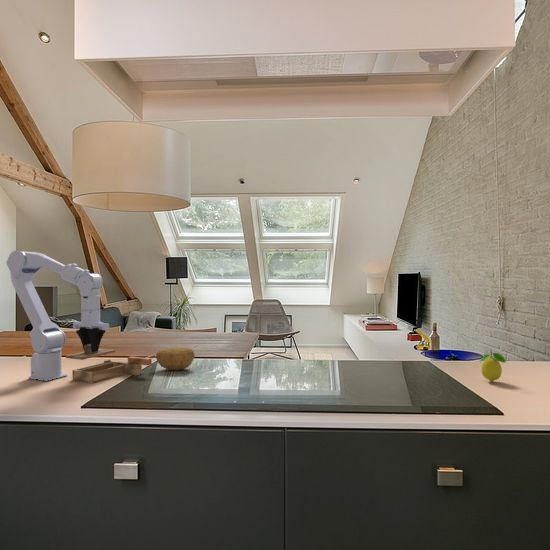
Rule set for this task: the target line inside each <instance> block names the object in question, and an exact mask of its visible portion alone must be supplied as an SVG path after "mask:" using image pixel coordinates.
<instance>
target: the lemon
mask: <svg viewBox="0 0 550 550" xmlns="http://www.w3.org/2000/svg"><path fill="white" fill-rule="evenodd" d="M492 351H493V350H490V354H484V355H483V356H482V357H481V359H480V360H479V363H482V364H481V370H480V371H481V375H482V376H483V377H484V378H485V379H486V380H488V381H489V382H491V383H493V382H494V381H496V380H499V379H500V378H501V376H502V372H503V371H502V370H503V369H502V365H501V363H507V361H506V359H505V358H504V355H502V354H500V353H498V352H492Z"/></svg>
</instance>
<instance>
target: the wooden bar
mask: <svg viewBox="0 0 550 550" xmlns="http://www.w3.org/2000/svg"><path fill="white" fill-rule="evenodd" d="M127 362H128V363H131V364H140V365H142V366H151V365H152V358H150V357H142V356H141V357H140V356H128V357H127Z"/></svg>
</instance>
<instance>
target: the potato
mask: <svg viewBox="0 0 550 550" xmlns="http://www.w3.org/2000/svg"><path fill="white" fill-rule="evenodd" d="M155 355H156V356H155V358H156V362H157V363H158V364H159V365H160V367H161V368H164V369H166V370H170V371H180V370H185V369H187V368H189V366H191V365H192V363H193V361H194V359H195V355H196V353H195V351H194V350H193V349H192V348H189V347H180V346H179V347H172V348H171V347H170V348H163V349H161V350H158V351H157V353H156V354H155Z"/></svg>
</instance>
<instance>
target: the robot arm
mask: <svg viewBox="0 0 550 550" xmlns="http://www.w3.org/2000/svg"><path fill="white" fill-rule="evenodd" d="M5 263H6V265H7V267H8V270H9V272H10V282H11V284H12V286H13V288H14V290H15V293H16V294H17V296H18V299H19V300H20V303H21V305H22V307H23V309H24V312H25V313H26V316H27V317H28V320H29V321H30V324H31V326H32V330H31V331H30V332H29V336H30V340H31V341H30V342H31V348H32V349H33V350H34V351H35V352H34V353H33V354H32V355H31V357H30V376H28V379H29V378H31V380H36V379H38V380H37V381H43V380H44V381H43V382H48V380H49V381H52V379H53V380H56V378H57V379H60V377H61V378H64V376H65V377H68V374H67V373H62V372H63V371H62V350H63V346H65V344H66V342H67V336H66V333H65V332H64V331H63V330H61V328H60V326H59V325H58V324H56V323H55V322H53V321H51V319H50V317H49V314H48V313H47V311H46V309H45V306H44V305H43V302H42V299H41V298H40V296H39V294H38V292H37V290H36V288H35V286H34V283H33V281H32V280H33V279H34V278H35V277H36V276H37V274H38V273H39V271H41V269H42V268H44V269H46V270H49V271H51V272H54V273H56V274H59V275H60V277H61V278H60V279H62V280H63V281H66V282H68V283H70V284H72V285H74V286H77V288H78V290H79V294H80V304H81V305H80V313H81V314H80V319H81V321H74V322H73V323H72V324H73V325H72V328H73V329H77V330H75V331H76V334H77V335H78V337H79V339H80V342H81V345H82V348H83V350H84V345H88V344H91V350H92V352H95V351H98V349H99V348H100V345H101V341H102V339H103V337H104V335H105V333H106V331H107V330H110V323H107V322H103V321H101V289H102V288H103V287H104V278H103V277H102V276H101V274H99V273H97V272H93V273H91V272H90V270H89V269H84V268H81V267H78V266H79V265H78V264H77V263H68V264H63V263H62V262H59V261H58V260H55V259H53V258H52V257H50V256H48V255H46V254H45V253H40V252H38V251H23V250H22V251H21V250H13V251H12V252H10V253H9V255H8V257H7V260H6V262H5Z"/></svg>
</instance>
